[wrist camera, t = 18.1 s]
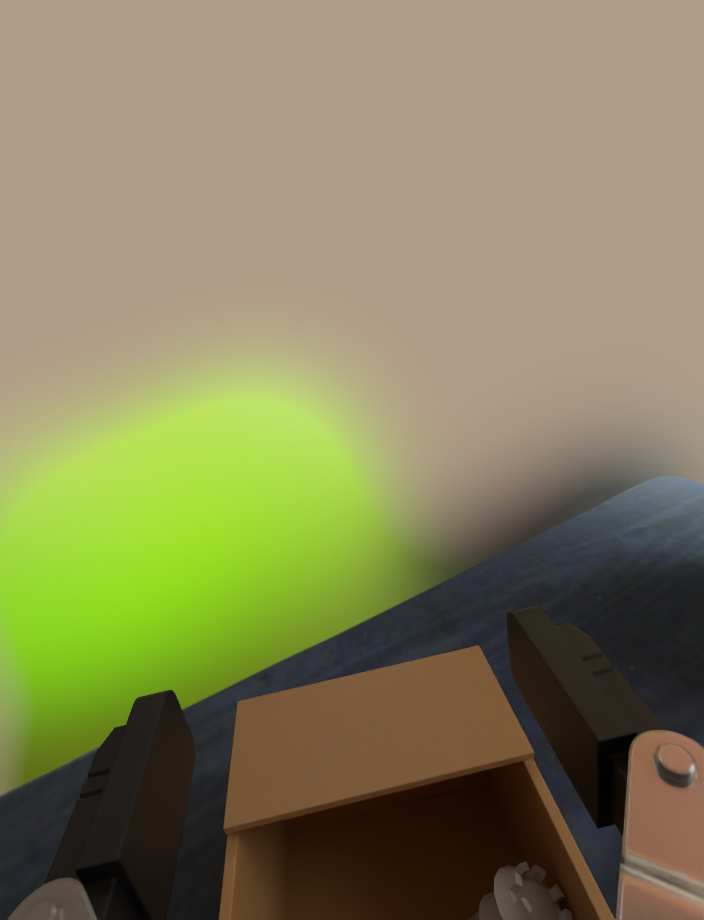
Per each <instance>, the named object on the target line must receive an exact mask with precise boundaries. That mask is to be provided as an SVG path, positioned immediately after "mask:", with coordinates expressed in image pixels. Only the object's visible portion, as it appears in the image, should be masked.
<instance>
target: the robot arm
mask: <svg viewBox="0 0 704 920" xmlns="http://www.w3.org/2000/svg"><path fill="white" fill-rule="evenodd" d="M507 629H508V642H509V655H510V664H511V669H512V673H513V676H514V679H515V681H516V684H517V686H518V688H519V690H520V692H521V693H522V695H523V697H524V699H525V701H526V702H527V704H528V706H529V708H530V709H531V711H532V713H533V715H534V717H535V718H536V720H537V722H538V724H539V725H540V727H541V729H542V731H543V732H544V734H545V736H546V738H547V740H548V741H549V743H550V745H551V747H552V748H553V750H554V752H555V754H556V755H557V757H558V759H559V761H560V763H561V764H562V766H563V768H564V770H565V771H566V773H567V775H568V777H569V778H570V780H571V782H572V784H573V786H574V787H575V789H576V791H577V793H578V794H579V796H580V798H581V800H582V801H583V803H584V805H585V807H586V809H587V810H588V812H589V814H590V816H591V817H592V819H593V821H594V823H595V824H596V826H597V828H602V827H606V826H610V825H614V824H615V825H616V826H617V828H618V830H619V831H620V833H621V835H622V836H623V844H622V857H621V861H620V872H619V885H618V899H617V912H616V920H704V747H703V746H701V745H700V744H699V743H697V742H695V741H694V740H692V739H690V738H688V737H686V736H684V735H682V734H679V733H676V732H671V731H670V730H669V729H668V728H667V727H666V726H665V725H664V724H663V722H662V721H661V720H660V719H659V718H658V717H657V715H656V714H655V713H654V712H653V711H652V709H651V708H650V707H649V706H648V705H647V704H646V702H645V701H644V700H643V699H642V698H641V696H640V695H639V694H638V693H637V692H636V690H635V689H634V688H633V687H632V686H631V685H630V683H629V682H628V681H627V680H626V679H625V677H624V676H623V675H622V674H621V673H620V672H619V670H618V671H617V670H616V668H615V666H614V664H613V663H612V662H611V661H610V660H609V659H608V657H607V656H604V654H603V651H602V650H601V649H600V648H599V647H598V645H597V644H596V643H595V642H594V641H593V640H592V638H591V637H590V636H589V635H588V634H586V633H585V632H583V631H581V630H580V629H578V628H576V627H575V626H573V625H572V624H570V623H568V622H566V623H562V624H558V625H555V624H554V623H553V621H552V620H551V619H550V617H549V616H548V615H547V614H546V612H545V611H544V610H543V609H542V608H541V607H540V606H538V605H537V606H533V607H528V608H524V609H520V610H516V611H511V612H508V613H507ZM194 766H195V746H194V740H193V736H192V734H191V731H190V729H189V726H188V724H187V721H186V719H185V716H184V714H183V712H182V709H181V707H180V704H179V702H178V699H177V697H176V695H175V693H174V692H173V691H172V690H168V691H164V692H159V693H155V694H151V695H146V696H142V697H138V698H137V699H136V700H135V702H134V704H133V707H132V710H131V712H130V715H129V718H128V721H127V724H126V725H124V726H120V727H116V728H114V730H113V731H112V732H111V733H110V735H109V736H108V737H107V739H106V740H105V741H104V742H103V744H102V745H101V746H100V748H99V749H98V750H97V753H96V755H95V758H94V760H93V763H92V765H91V768H90V770H89V773H88V779H86V780H85V783H84V785H83V788H82V790H81V793H80V800H77V803H76V806H75V808H74V811H73V813H72V816H71V818H70V821H69V823H68V826H67V828H66V831H65V833H64V836H63V838H62V841H61V843H60V846H59V848H58V851H57V853H56V856H55V858H54V861H53V864H52V866H51V869H50V871H49V874H48V876H47V878H46V881H45V883H44V885H43V886H41V887H39V888H38V889H37V890H35V891H34V892H33V893H31V894H30V895H29V896H28V897H27V898H26V899H24V900H23V901H22V902H21V903H20V905H19V906H18V907H17V908H16V909H15V910H14V911H13V913H12V914H11V915H10V916H9V918H8V919H7V920H166V918H167V912H168V907H169V901H170V896H171V891H172V885H173V880H174V874H175V869H176V864H177V858H178V853H179V847H180V842H181V837H182V831H183V826H184V820H185V815H186V810H187V804H188V799H189V794H190V788H191V783H192V777H193V772H194Z"/></svg>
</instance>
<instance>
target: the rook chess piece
mask: <svg viewBox="0 0 704 920" xmlns="http://www.w3.org/2000/svg"><path fill="white" fill-rule="evenodd" d="M529 870H530V868H529V866H528V864H527V862H523V863H520V864H518V866H517V867H514V866H510V865H508V866H505V867H502V868H499V870H498V872H497V874H496V876H495V877H494V892H491V893H489V894H486V895H484V896H483V898H482V900H481V902H480V904H479V910H478V912H477V913H476V914H475V915H473V916H472V917H470V918H469V919H467V920H572V914H571V911H569V910H567V909H564V910H563V911H561V908H560V905H559V903H560V902H561V901H562V900H563V899H564V898H565V896H564V894H563V892H562V891H561V889H560V888H559V886H558V884H557V883H556V884H555V885H554V886H553V887H552V888H551V889H549V888H548V887H547V885H546V884H545V883H544V882H543V880H544V878H545V877H546V871H545V870H543V869H542V868H540V867H539V866H538V865H536V864H535V865H534V866H533V867H532V869H531V870H530V871H529Z"/></svg>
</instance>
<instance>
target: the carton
mask: <svg viewBox="0 0 704 920" xmlns="http://www.w3.org/2000/svg"><path fill="white" fill-rule="evenodd" d="M533 758H534V751H533V749H532V747H531V745H530V743H529V741H528V739H527V737H526V736H525V734H524V732H523V730H522V728H521V726H520V724H519V722H518V720H517V718H516V716H515V714H514V712H513V710H512V708H511V707H510V705H509V703H508V701H507V699H506V697H505V695H504V693H503V691H502V689H501V687H500V685H499V683H498V681H497V679H496V678H495V676H494V674H493V672H492V670H491V668H490V666H489V664H488V662H487V660H486V658H485V656H484V654H483V652H482V651H481V649H480V647H479V646H474V647H470V648H465V649H461V650H457V651H452V652H448V653H444V654H440V655H435V656H431V657H427V658H422V659H418V660H414V661H410V662H405V663H401V664H397V665H392V666H388V667H384V668H379V669H375V670H371V671H367V672H362V673H358V674H354V675H349V676H345V677H341V678H337V679H332V680H328V681H324V682H319V683H315V684H311V685H306V686H302V687H298V688H294V689H289V690H285V691H281V692H276V693H272V694H268V695H264V696H259V697H255V698H251V699H246V700H242V701H238V703H237V712H236V721H235V729H234V738H233V747H232V756H231V764H230V773H229V782H228V790H227V799H226V808H225V817H224V825H223V830H224V832H225V834H228V836H227V846H226V855H225V865H224V874H223V884H222V893H221V902H220V912H219V920H467V919H469V918H470V917H472V916H473V915H475V914H476V913H477V912H478V910H479V904H480V902H481V900H482V898H483V896H484V895H486V894H489V893H491V892H494V877H495V876H496V874H497V872H498V870H499V868H502V867H505V866H508V865H510V866H514V867H517V866H518V864H520V863H523V862H527V864H528V866H529V868H530V870H531V869H532V867H533V866H534V865H535V864H536V865H538V866H539V867H540V868H542V869H543V870H545V871H546V877H545V878H544V880H543V882H544V883H545V884H546V885H547V887H548V888H549V889H551V888H552V887H553V886H554V885H555V884H556V883H557V884H558V886H559V888H560V889H561V891H562V892H563V894H564V896H565V898H564V899H563V900H562V901H561V902H560V903H559V905H560V908H561V911H563V910H564V909H567V910H569V911H571V914H572V920H615V919H614V917H613V915H612V913H611V911H610V909H609V907H608V905H607V904H606V902H605V900H604V898H603V896H602V894H601V892H600V890H599V888H598V886H597V884H596V882H595V880H594V878H593V876H592V874H591V872H590V870H589V868H588V866H587V864H586V862H585V860H584V858H583V856H582V854H581V852H580V850H579V848H578V846H577V844H576V843H575V841H574V839H573V837H572V835H571V833H570V831H569V829H568V827H567V825H566V823H565V821H564V819H563V817H562V815H561V813H560V811H559V809H558V807H557V805H556V803H555V801H554V799H553V797H552V795H551V793H550V791H549V789H548V787H547V785H546V783H545V782H544V780H543V778H542V776H541V774H540V772H539V770H538V768H537V766H536V764H535V762H534V760H533ZM530 870H529V871H530Z"/></svg>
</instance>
